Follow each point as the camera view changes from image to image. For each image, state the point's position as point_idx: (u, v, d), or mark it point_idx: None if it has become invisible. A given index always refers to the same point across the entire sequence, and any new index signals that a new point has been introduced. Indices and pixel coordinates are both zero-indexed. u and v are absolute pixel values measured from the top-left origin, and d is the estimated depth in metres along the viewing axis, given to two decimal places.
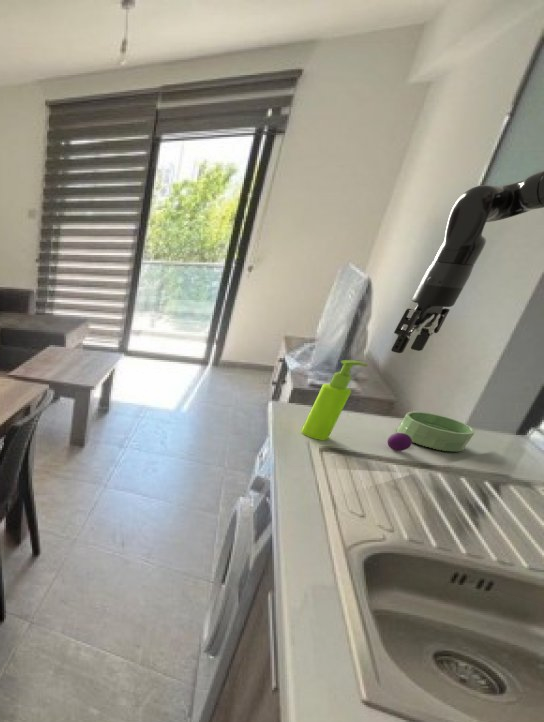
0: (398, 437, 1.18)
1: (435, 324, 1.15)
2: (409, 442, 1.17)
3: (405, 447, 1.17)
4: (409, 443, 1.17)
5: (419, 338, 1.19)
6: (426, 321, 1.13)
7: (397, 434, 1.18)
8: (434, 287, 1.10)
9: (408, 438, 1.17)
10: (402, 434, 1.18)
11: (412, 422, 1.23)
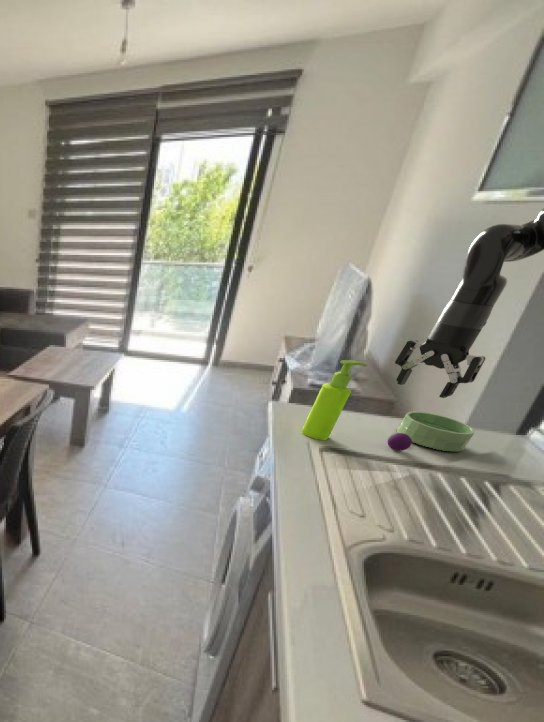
0: (398, 437, 1.18)
1: (447, 367, 1.09)
2: (409, 442, 1.17)
3: (405, 447, 1.17)
4: (409, 443, 1.17)
5: None
6: (424, 356, 1.12)
7: (397, 434, 1.18)
8: None
9: (408, 438, 1.17)
10: (402, 434, 1.18)
11: (412, 422, 1.23)
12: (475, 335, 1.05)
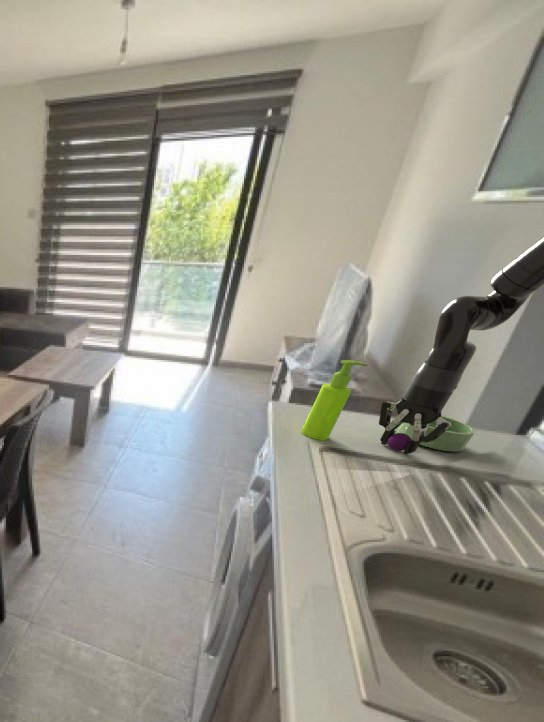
0: (398, 437, 1.18)
1: (416, 425, 1.14)
2: None
3: (405, 447, 1.17)
4: None
5: None
6: (399, 414, 1.17)
7: (397, 434, 1.18)
8: None
9: (408, 438, 1.17)
10: (402, 434, 1.18)
11: None
12: (446, 397, 1.09)
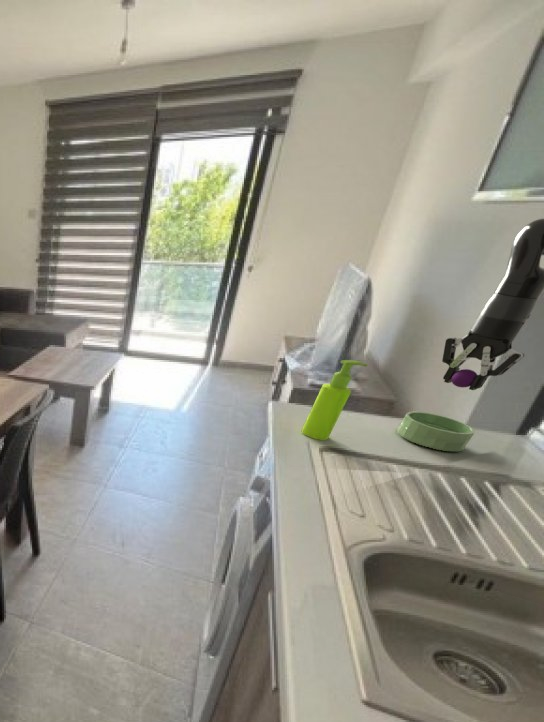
0: (463, 373, 1.15)
1: (484, 359, 1.12)
2: (475, 377, 1.15)
3: (471, 383, 1.15)
4: None
5: None
6: (465, 348, 1.14)
7: (462, 370, 1.16)
8: None
9: (474, 373, 1.15)
10: (468, 370, 1.15)
11: (412, 422, 1.23)
12: (519, 328, 1.07)
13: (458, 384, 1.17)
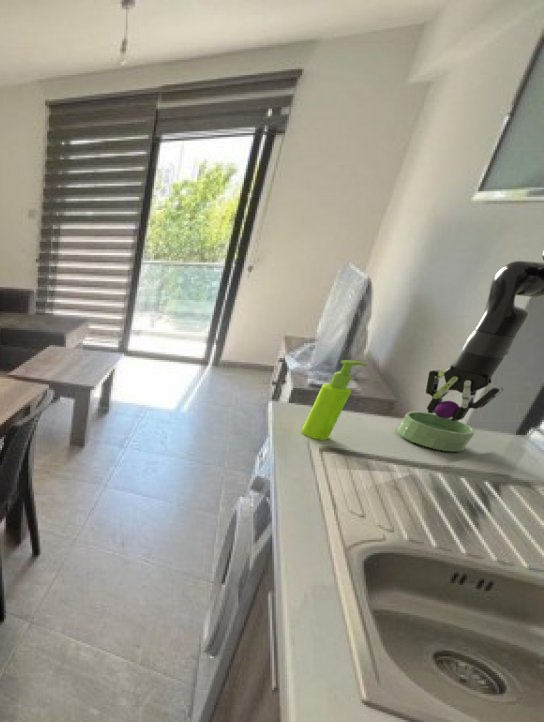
0: (446, 404, 1.20)
1: (465, 392, 1.16)
2: None
3: (453, 414, 1.19)
4: None
5: None
6: (447, 381, 1.19)
7: (445, 402, 1.20)
8: None
9: (456, 405, 1.19)
10: (450, 402, 1.20)
11: (412, 422, 1.23)
12: (497, 363, 1.11)
13: (441, 415, 1.21)
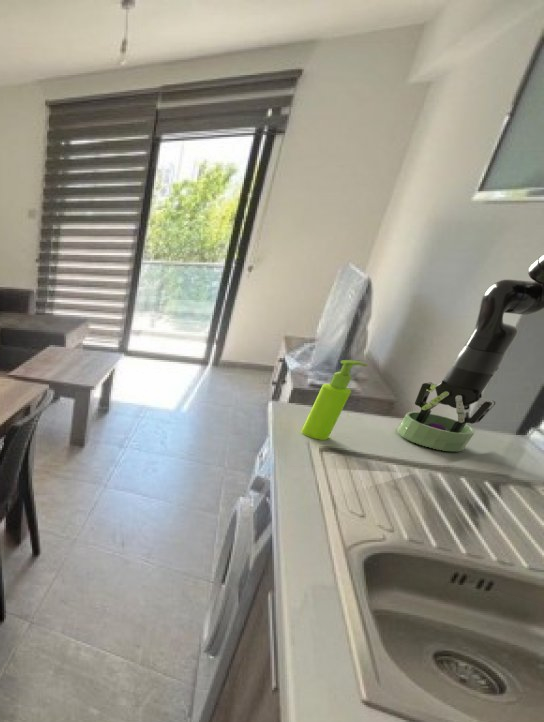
0: None
1: (458, 407, 1.18)
2: None
3: None
4: None
5: None
6: (439, 396, 1.21)
7: (431, 424, 1.23)
8: None
9: (442, 428, 1.22)
10: (436, 424, 1.23)
11: (412, 422, 1.23)
12: (488, 379, 1.13)
13: None
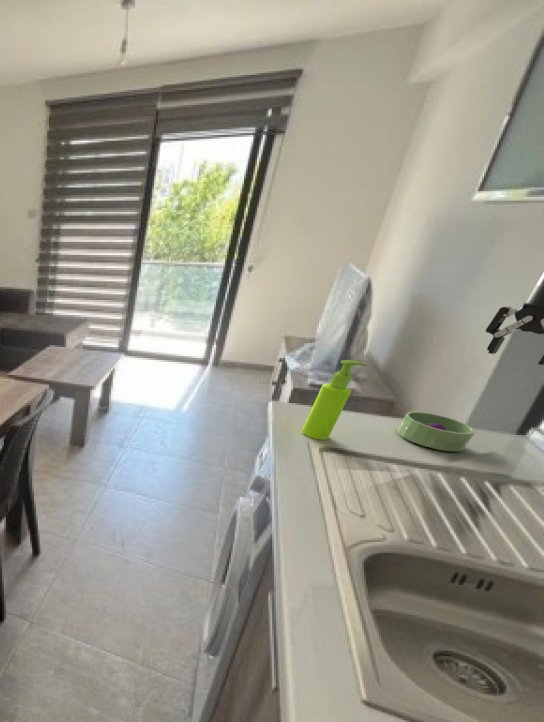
0: (433, 427, 1.23)
1: None
2: None
3: None
4: None
5: None
6: (520, 322, 1.07)
7: (432, 424, 1.23)
8: (534, 286, 1.05)
9: (443, 428, 1.22)
10: (437, 424, 1.23)
11: (412, 422, 1.23)
12: None
13: None
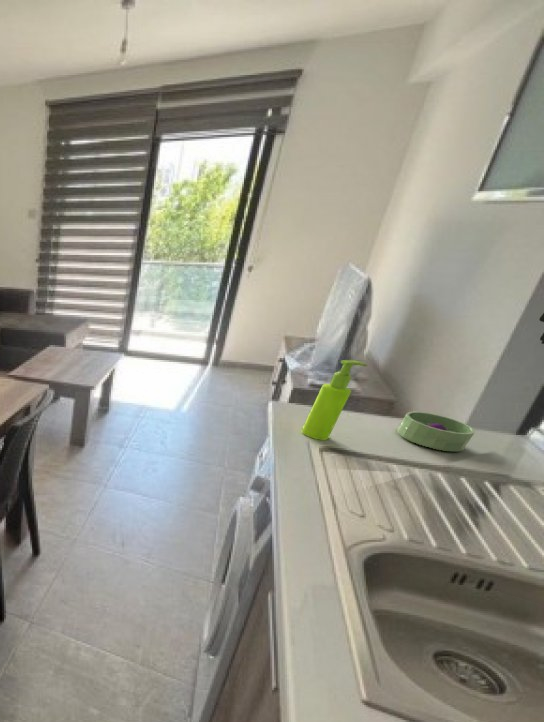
0: (434, 427, 1.23)
1: None
2: None
3: None
4: None
5: None
6: None
7: (433, 424, 1.23)
8: None
9: (444, 428, 1.22)
10: (438, 424, 1.23)
11: (412, 422, 1.23)
12: None
13: None
